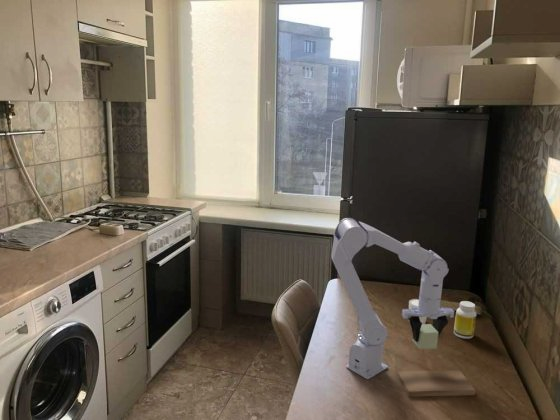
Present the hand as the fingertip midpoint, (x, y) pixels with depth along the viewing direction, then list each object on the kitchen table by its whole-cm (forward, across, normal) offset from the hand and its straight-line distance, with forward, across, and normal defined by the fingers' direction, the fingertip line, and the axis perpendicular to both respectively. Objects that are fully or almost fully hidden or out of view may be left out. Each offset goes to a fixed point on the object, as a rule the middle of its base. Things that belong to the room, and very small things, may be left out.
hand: (424, 339), depth 133 cm
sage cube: (+1, 0, 0) cm, 1 cm away
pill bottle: (+9, +22, +17) cm, 29 cm away
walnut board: (+8, 0, -9) cm, 13 cm away
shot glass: (+9, +10, +27) cm, 30 cm away
